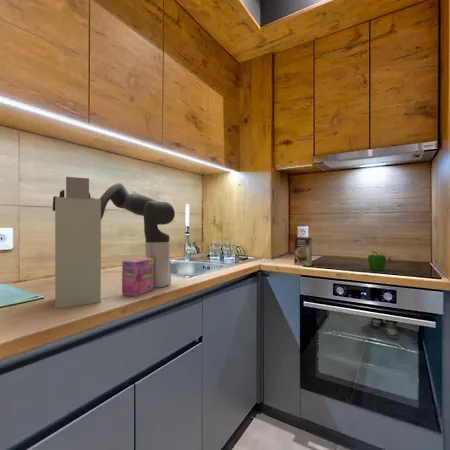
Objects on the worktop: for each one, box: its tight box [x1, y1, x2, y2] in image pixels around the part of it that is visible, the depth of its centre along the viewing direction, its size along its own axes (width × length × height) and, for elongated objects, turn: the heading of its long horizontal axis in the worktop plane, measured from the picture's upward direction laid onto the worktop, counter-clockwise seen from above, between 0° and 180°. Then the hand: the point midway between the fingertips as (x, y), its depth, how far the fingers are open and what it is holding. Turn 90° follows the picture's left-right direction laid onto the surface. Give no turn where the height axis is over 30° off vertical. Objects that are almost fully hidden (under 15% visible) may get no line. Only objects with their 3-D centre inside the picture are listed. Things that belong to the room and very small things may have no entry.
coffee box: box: [293, 237, 313, 267], centre depth 167 cm, size 9×6×16 cm
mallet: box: [65, 176, 90, 198], centre depth 92 cm, size 22×6×6 cm, turn 29°
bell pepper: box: [367, 250, 387, 272], centre depth 147 cm, size 8×8×10 cm
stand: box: [54, 196, 102, 309], centre depth 88 cm, size 12×12×32 cm
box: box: [121, 257, 154, 297], centre depth 98 cm, size 10×6×12 cm, turn 158°
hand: (75, 192), depth 96 cm, fingers open, 7 cm apart
